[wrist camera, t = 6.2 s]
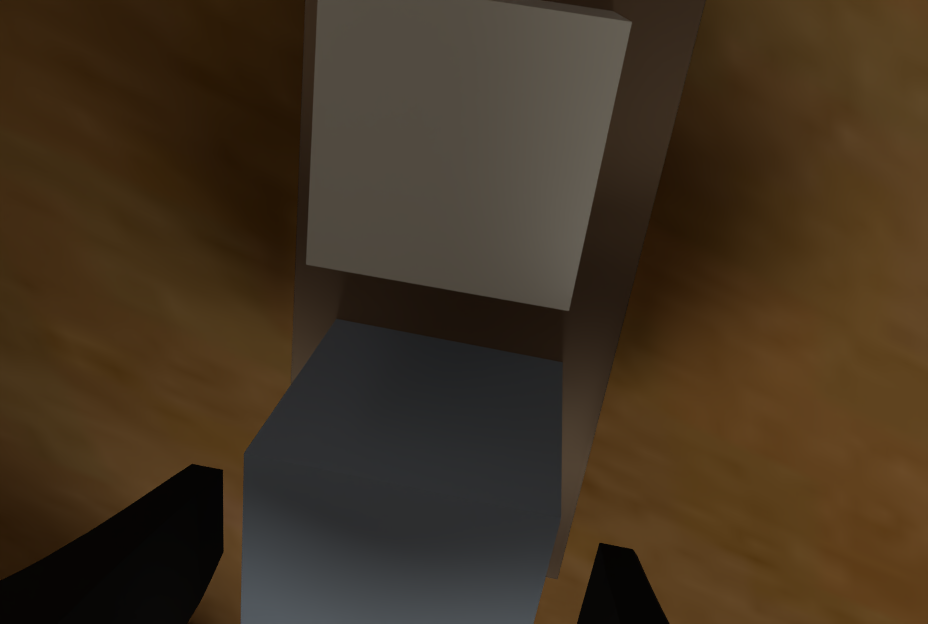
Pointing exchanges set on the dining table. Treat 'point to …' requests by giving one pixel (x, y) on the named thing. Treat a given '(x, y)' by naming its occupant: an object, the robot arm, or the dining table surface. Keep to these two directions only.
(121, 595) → the robot arm
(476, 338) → the base slab
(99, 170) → the dining table surface
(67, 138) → the dining table surface
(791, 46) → the dining table surface
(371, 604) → the grey cube
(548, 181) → the grey block
